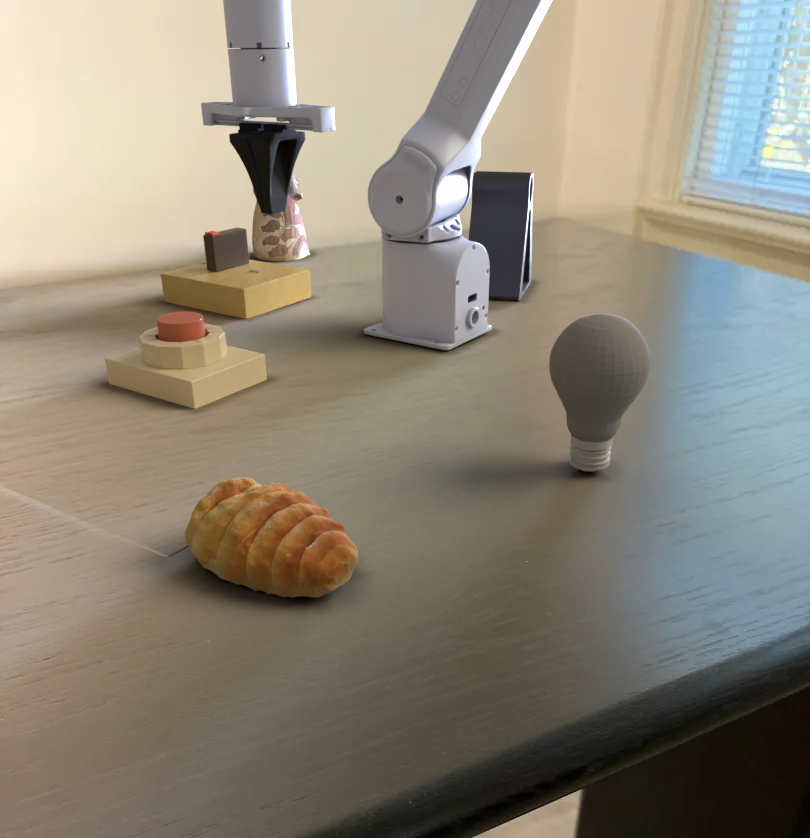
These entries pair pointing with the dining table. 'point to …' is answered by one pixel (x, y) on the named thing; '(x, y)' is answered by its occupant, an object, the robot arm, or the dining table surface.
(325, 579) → the pastry
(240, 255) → the thumb turn
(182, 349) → the block
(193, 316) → the bell button
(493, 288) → the phone stand
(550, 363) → the light bulb
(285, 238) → the figurine
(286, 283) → the plate
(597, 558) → the dining table surface
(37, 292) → the dining table surface
